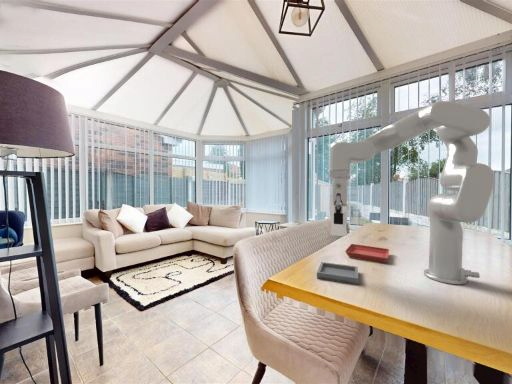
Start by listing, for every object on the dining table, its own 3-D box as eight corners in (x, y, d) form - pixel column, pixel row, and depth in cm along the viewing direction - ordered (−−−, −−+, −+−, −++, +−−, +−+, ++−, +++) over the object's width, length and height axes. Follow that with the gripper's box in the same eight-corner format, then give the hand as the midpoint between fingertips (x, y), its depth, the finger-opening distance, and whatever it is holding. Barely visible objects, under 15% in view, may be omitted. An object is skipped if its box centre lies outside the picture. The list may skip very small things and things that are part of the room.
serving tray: (357, 272, 91) (357, 266, 91) (358, 284, 79) (358, 278, 79) (321, 267, 97) (321, 261, 97) (316, 278, 85) (316, 272, 85)
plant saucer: (389, 255, 116) (389, 248, 116) (387, 265, 101) (387, 257, 101) (351, 249, 126) (351, 243, 126) (344, 258, 110) (344, 251, 110)
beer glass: (345, 232, 91) (346, 194, 90) (350, 236, 84) (351, 195, 83) (327, 232, 91) (327, 194, 91) (331, 236, 84) (331, 195, 84)
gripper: (350, 174, 78) (349, 227, 78) (350, 176, 94) (349, 220, 94) (327, 174, 81) (326, 225, 81) (331, 176, 97) (330, 219, 97)
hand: (338, 222), depth 87 cm, fingers closed on beer glass, 6 cm apart
